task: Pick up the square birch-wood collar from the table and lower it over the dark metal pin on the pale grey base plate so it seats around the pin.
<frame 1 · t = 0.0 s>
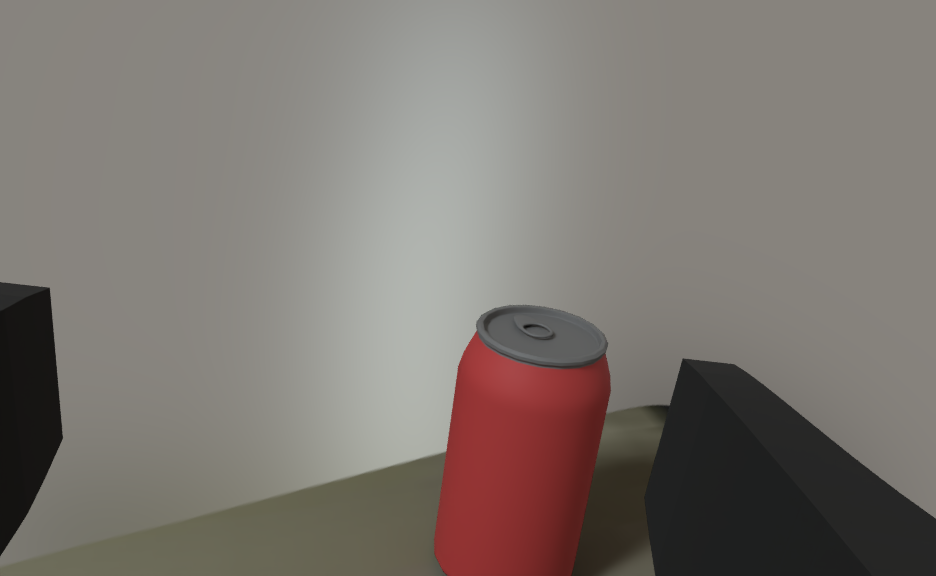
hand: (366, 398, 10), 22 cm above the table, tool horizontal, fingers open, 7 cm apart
beer can: (501, 566, 42), on the table
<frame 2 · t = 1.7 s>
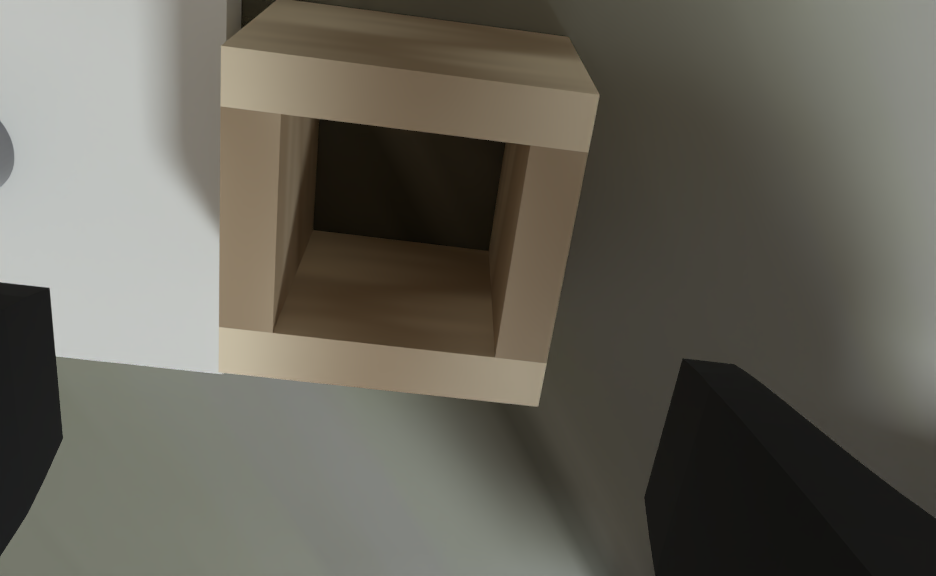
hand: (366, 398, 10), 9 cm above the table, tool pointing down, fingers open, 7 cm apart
collar: (410, 156, 18), on the table
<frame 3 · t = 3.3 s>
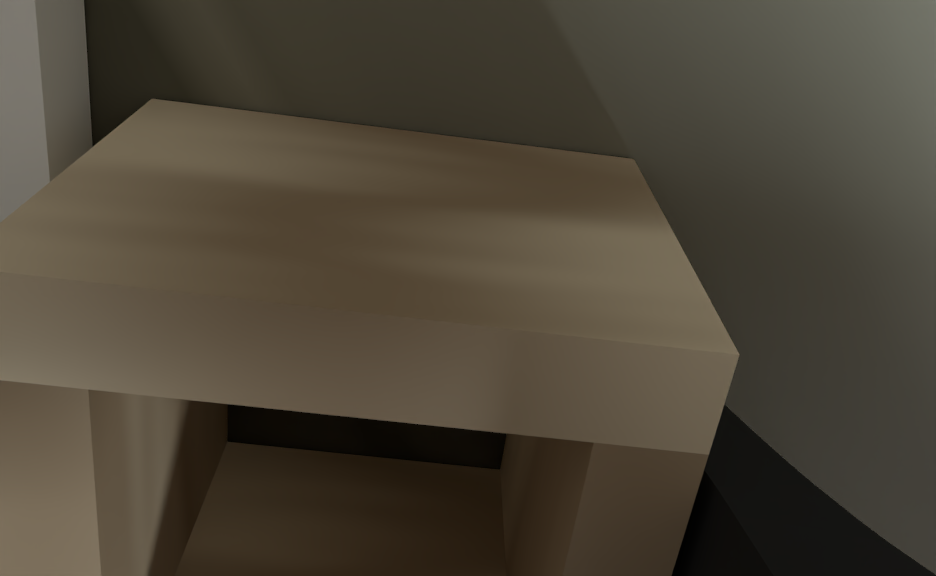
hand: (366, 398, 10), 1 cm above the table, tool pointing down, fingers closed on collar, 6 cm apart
collar: (376, 337, 12), on the table, touching gripper
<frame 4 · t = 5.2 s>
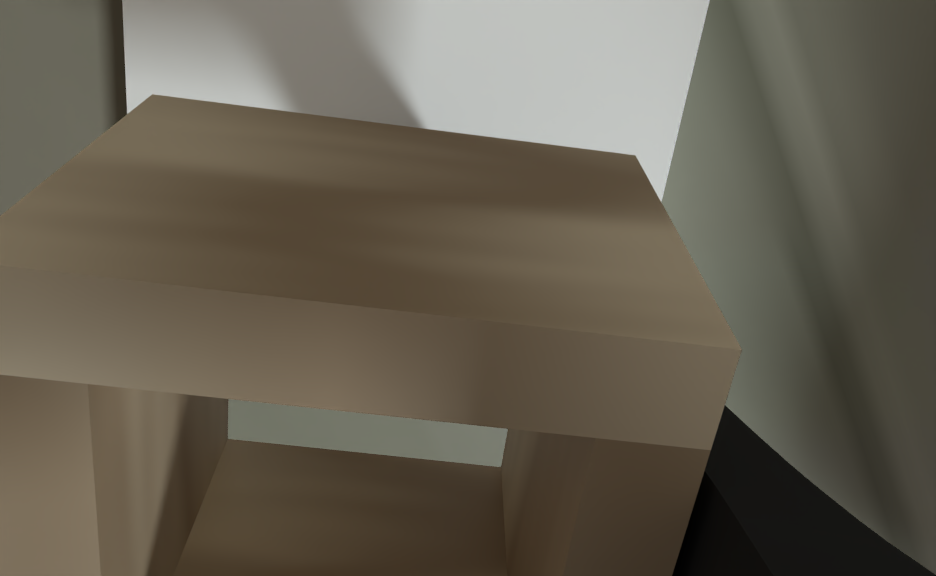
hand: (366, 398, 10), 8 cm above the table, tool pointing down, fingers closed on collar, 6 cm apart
pin block: (401, 165, 18), on the table
collar: (377, 334, 12), point 7 cm above the table, touching gripper
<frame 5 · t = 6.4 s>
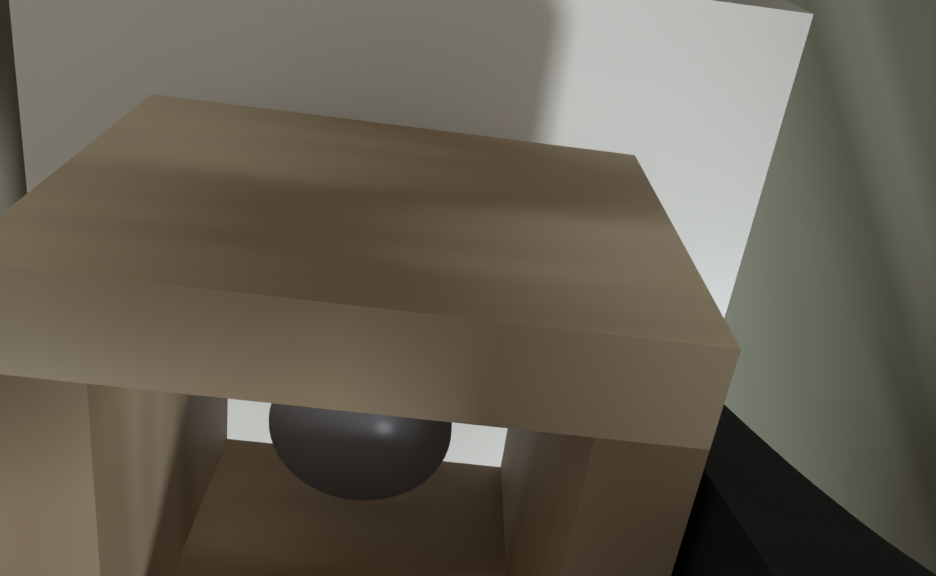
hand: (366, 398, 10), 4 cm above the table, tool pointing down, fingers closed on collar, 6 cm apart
pin block: (391, 252, 14), on the table
collar: (376, 334, 12), point 3 cm above the table, touching gripper
when the fingers open (4 cm above the table, at t = 7.2 s): collar drops 1 cm, resting on pin block.
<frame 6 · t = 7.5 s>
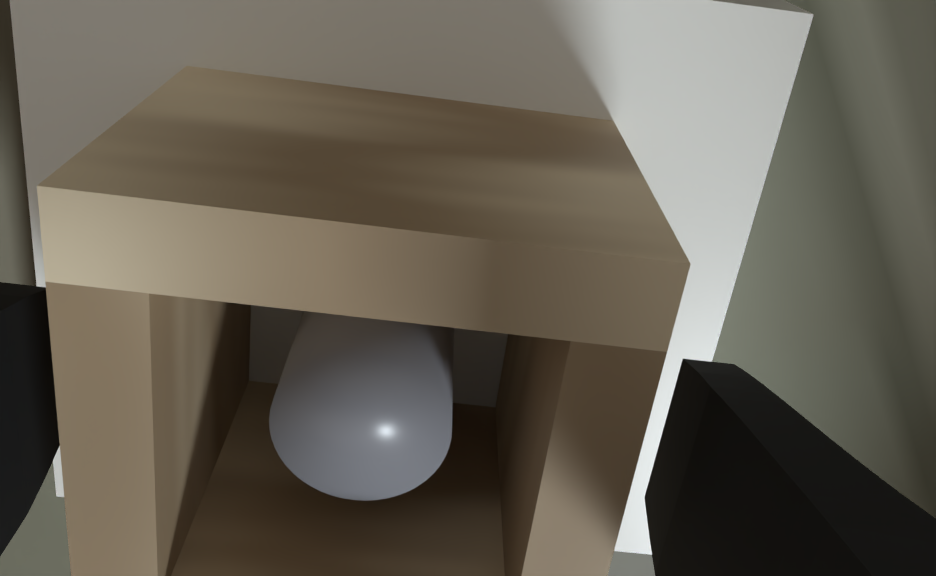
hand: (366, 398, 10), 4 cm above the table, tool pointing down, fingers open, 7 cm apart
pin block: (391, 252, 14), on the table
collar: (384, 284, 13), point 1 cm above the table, touching pin block
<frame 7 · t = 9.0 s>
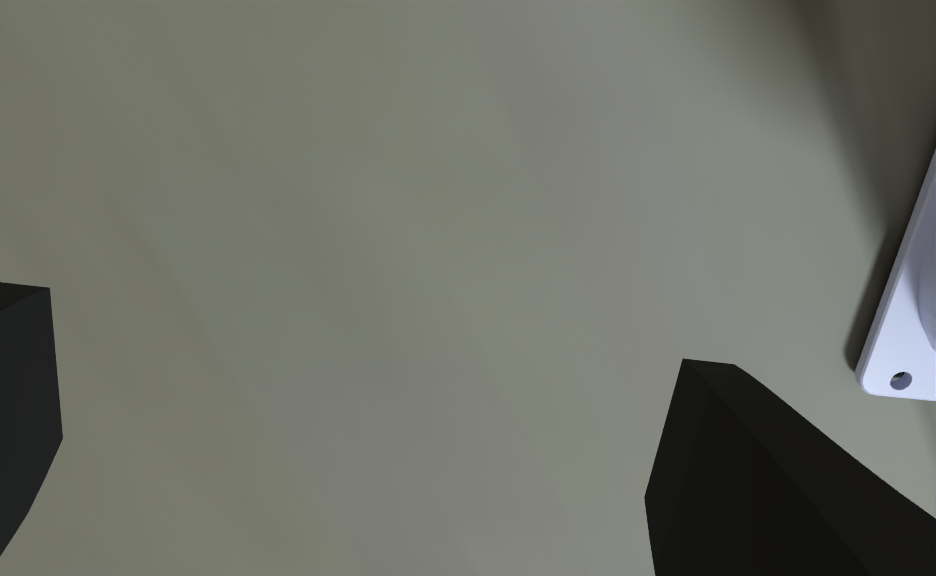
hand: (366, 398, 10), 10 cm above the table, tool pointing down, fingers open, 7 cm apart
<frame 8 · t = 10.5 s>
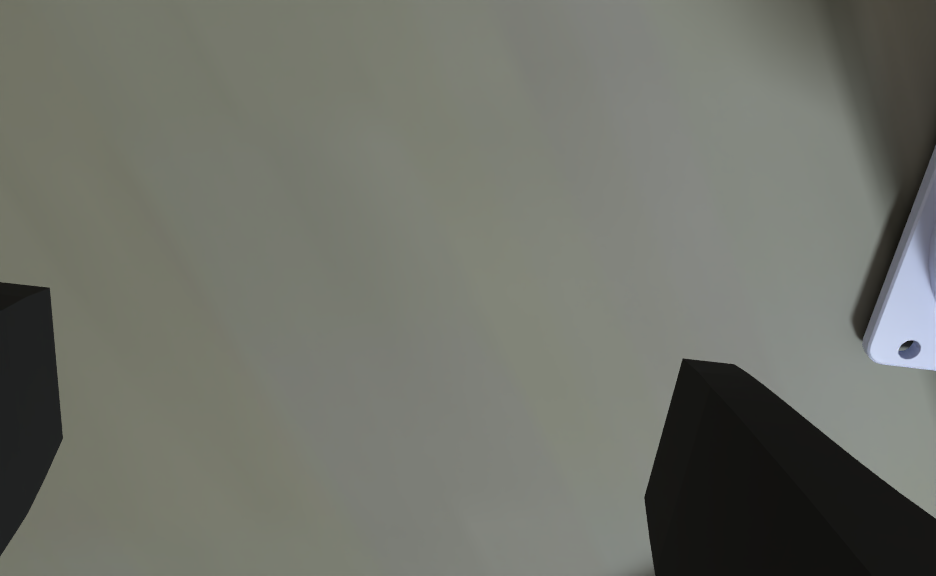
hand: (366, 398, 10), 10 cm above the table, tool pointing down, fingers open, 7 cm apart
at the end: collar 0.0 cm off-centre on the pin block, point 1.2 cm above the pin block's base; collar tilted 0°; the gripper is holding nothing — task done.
